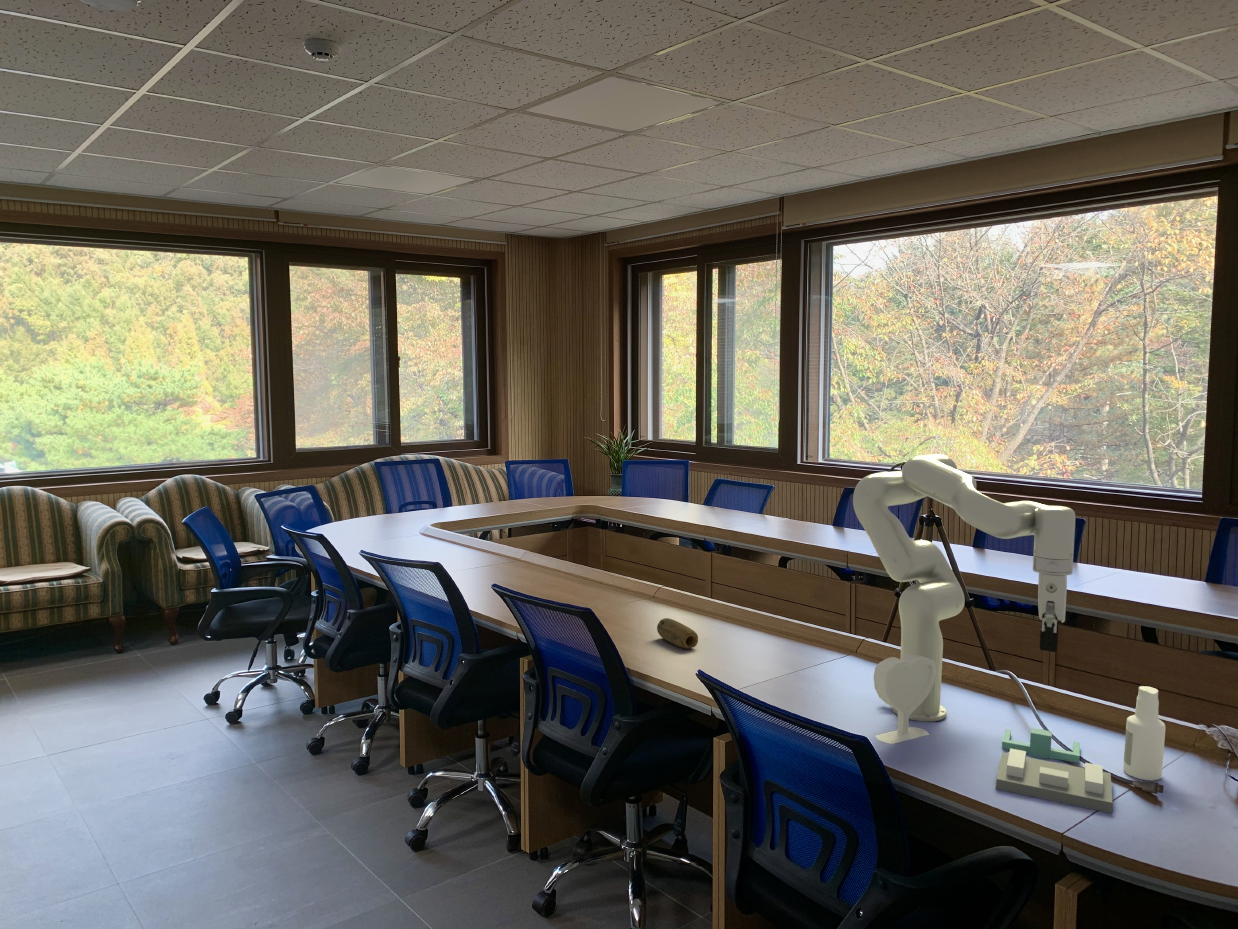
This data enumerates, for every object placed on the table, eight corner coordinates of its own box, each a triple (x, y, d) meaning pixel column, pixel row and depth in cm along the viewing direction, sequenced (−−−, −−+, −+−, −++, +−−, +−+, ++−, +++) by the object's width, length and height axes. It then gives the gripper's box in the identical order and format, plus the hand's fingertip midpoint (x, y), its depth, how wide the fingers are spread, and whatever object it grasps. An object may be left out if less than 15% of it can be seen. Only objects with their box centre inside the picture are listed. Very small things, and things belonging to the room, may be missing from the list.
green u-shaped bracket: (1001, 749, 192) (1002, 727, 191) (1005, 734, 200) (1006, 713, 199) (1079, 764, 185) (1080, 741, 184) (1079, 748, 193) (1080, 726, 193)
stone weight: (652, 639, 269) (652, 618, 268) (670, 636, 273) (671, 615, 272) (683, 652, 256) (683, 630, 256) (701, 648, 260) (702, 626, 260)
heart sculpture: (884, 745, 193) (888, 666, 191) (868, 737, 198) (871, 659, 196) (935, 733, 200) (939, 656, 198) (918, 725, 205) (922, 649, 203)
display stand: (995, 788, 173) (996, 769, 173) (1001, 761, 186) (1002, 743, 185) (1111, 813, 164) (1113, 792, 164) (1109, 782, 176) (1111, 763, 176)
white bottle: (1147, 766, 184) (1154, 683, 182) (1169, 781, 177) (1176, 695, 176) (1116, 766, 184) (1122, 683, 182) (1136, 781, 177) (1142, 695, 175)
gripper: (1072, 574, 175) (1068, 658, 177) (1072, 559, 190) (1068, 636, 192) (1031, 570, 178) (1027, 653, 180) (1034, 556, 194) (1030, 632, 195)
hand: (1048, 644), depth 186 cm, fingers open, 9 cm apart
